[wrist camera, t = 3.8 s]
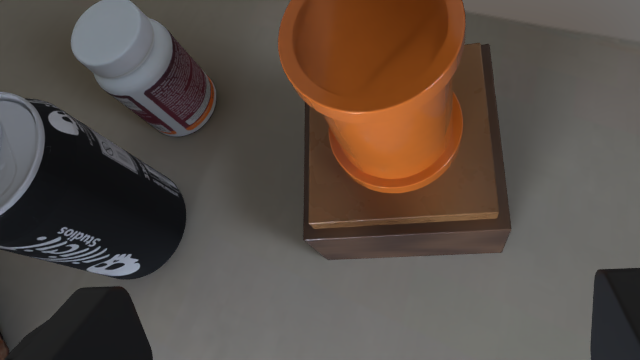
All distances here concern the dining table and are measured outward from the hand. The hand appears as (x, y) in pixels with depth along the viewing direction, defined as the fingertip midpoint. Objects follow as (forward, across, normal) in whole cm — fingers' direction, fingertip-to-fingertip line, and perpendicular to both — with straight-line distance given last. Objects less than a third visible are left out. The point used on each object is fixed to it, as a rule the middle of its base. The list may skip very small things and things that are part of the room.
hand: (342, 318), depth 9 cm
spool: (+15, 0, +2) cm, 16 cm away
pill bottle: (+24, +14, +3) cm, 28 cm away
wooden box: (+20, 0, +7) cm, 21 cm away
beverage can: (+18, +16, +8) cm, 26 cm away
